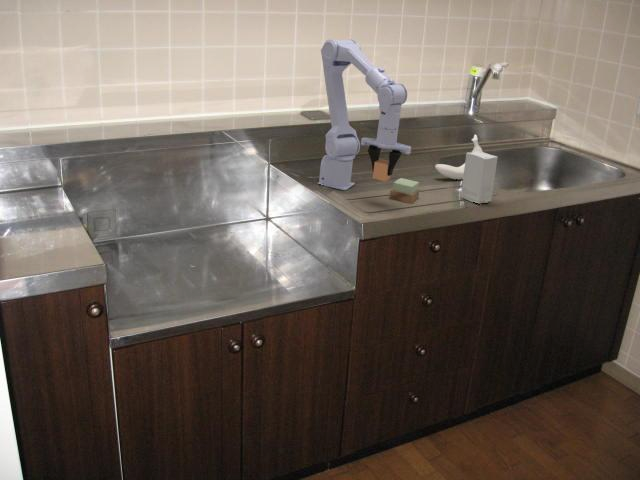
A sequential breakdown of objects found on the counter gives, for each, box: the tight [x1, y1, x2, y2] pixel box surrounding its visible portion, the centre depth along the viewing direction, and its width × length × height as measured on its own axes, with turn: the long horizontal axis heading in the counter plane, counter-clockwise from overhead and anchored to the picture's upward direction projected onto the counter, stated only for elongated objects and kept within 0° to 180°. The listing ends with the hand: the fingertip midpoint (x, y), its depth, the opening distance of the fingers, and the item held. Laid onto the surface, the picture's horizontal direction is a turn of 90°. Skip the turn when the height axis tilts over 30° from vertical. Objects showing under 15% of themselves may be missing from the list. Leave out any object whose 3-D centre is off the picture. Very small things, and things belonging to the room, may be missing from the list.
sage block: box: [392, 177, 420, 195], centre depth 213 cm, size 6×6×2 cm
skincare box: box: [460, 151, 499, 204], centre depth 217 cm, size 8×6×15 cm
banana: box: [434, 134, 483, 181], centre depth 237 cm, size 5×19×15 cm, turn 125°
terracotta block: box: [372, 158, 392, 182], centre depth 204 cm, size 4×4×5 cm
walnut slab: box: [388, 188, 420, 205], centre depth 214 cm, size 7×7×3 cm
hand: (382, 173), depth 204 cm, fingers closed on terracotta block, 4 cm apart
